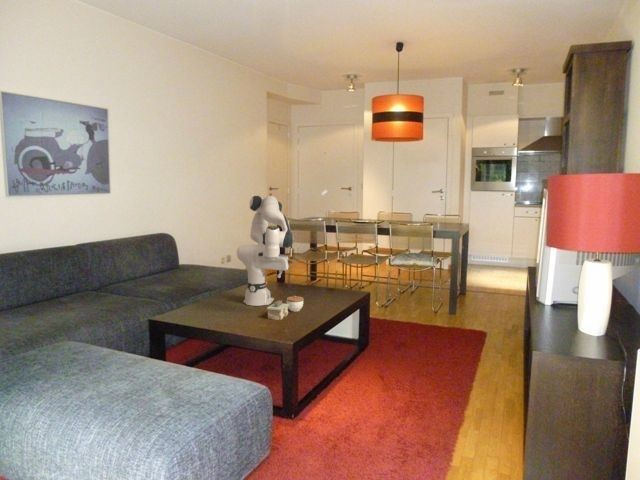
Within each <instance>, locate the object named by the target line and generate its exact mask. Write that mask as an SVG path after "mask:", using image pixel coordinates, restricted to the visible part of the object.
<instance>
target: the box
mask: <svg viewBox="0 0 640 480" xmlns="http://www.w3.org/2000/svg"><path fill="white" fill-rule="evenodd" d="M287 316H289V308H288V306H287V307H286V308H284V309H283V310H281V311H280V310H270V309H267V319H268V320H276V321H281V320H283V319H284V318H286V317H287Z"/></svg>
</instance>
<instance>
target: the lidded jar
mask: <svg viewBox="0 0 640 480" xmlns="http://www.w3.org/2000/svg"><path fill="white" fill-rule="evenodd" d="M304 298H305V297H302V296H296V295H293V296H288V297H286V304H289V306H288V310H289V311H290V312H300V310H302V308H303V307H304Z"/></svg>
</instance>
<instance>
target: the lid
mask: <svg viewBox="0 0 640 480" xmlns="http://www.w3.org/2000/svg"><path fill="white" fill-rule="evenodd" d="M287 306H289V304H287V303H283V300H277V301H275V302H273V304H272V303H271V305H268V306H267V307H266V310H268V309H270V310H280V311H281V310H283V309H284V308H286V307H287Z"/></svg>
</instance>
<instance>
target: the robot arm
mask: <svg viewBox="0 0 640 480" xmlns="http://www.w3.org/2000/svg"><path fill="white" fill-rule="evenodd" d="M249 210H251V211H253V212H256V213H254V216H253V218H252V222H251V227H250V239H251V240H252V241H254V242H256V244H244V245H243V244H242V245H239V246H238V248H237V250H236V256H237V258H238V260H239V261H240V262H242V263H243V265H244V266H245V268H246V271H247V283H246V288H247V289H246V290H245V295H244V296H245V297H244V300H243V303H244V304H246V305H248V306H255V307H256V306H257V307H258V306H266V305H267V306H270V304H272V303H273V301H274V299H275V298H274V297H271V291H270V290H269V289H268V288H267V285H268V281H267V280H266V276H267V273H265V270H272V271H273V270H274V271H278V274H277V275H276V277H277V278H278V279H280V278H281V276H282V274H283V271H288V269H289V256H288V255H287V254H280V253H281V252H280V251H281V250H280V248H285V249H286V248H290V247H291V246H292V245H293V243H294V236H293V233H292V231H291V229H290V225H289V223H288V219H287V216H286V215H285V214H284V213H283V212H282V210H283V205H282V203H281V201H279V200H278V199H277V198H276V196H273V195H267V196H260V195H254V196H252V197H251V198H250V201H249ZM269 223H271V224H274V225H269ZM276 225H277V226H276ZM278 226H279V227H278ZM280 228H281V229H282V231H280Z"/></svg>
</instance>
